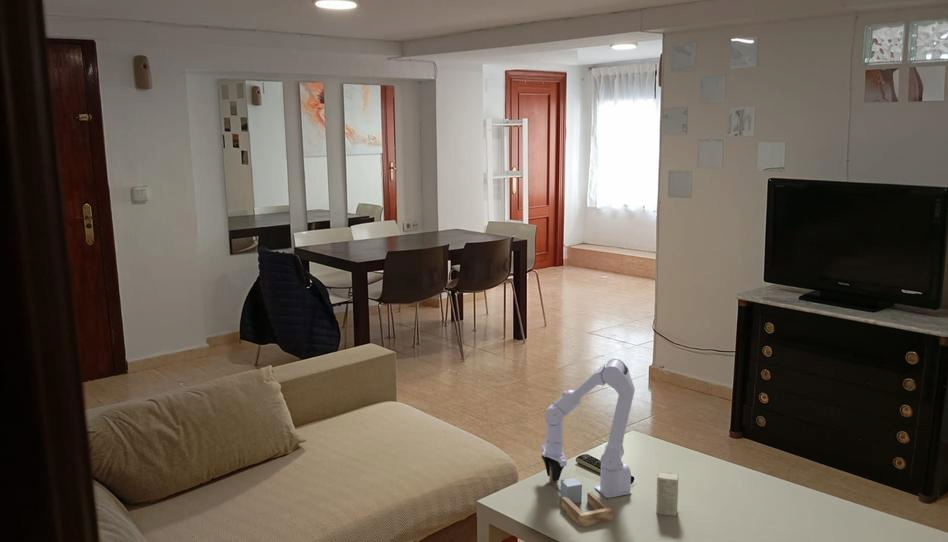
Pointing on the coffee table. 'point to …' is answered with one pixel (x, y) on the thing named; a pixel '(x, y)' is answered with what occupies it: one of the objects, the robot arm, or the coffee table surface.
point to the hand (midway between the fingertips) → (553, 477)
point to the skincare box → (667, 493)
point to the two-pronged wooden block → (591, 517)
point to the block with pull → (568, 488)
